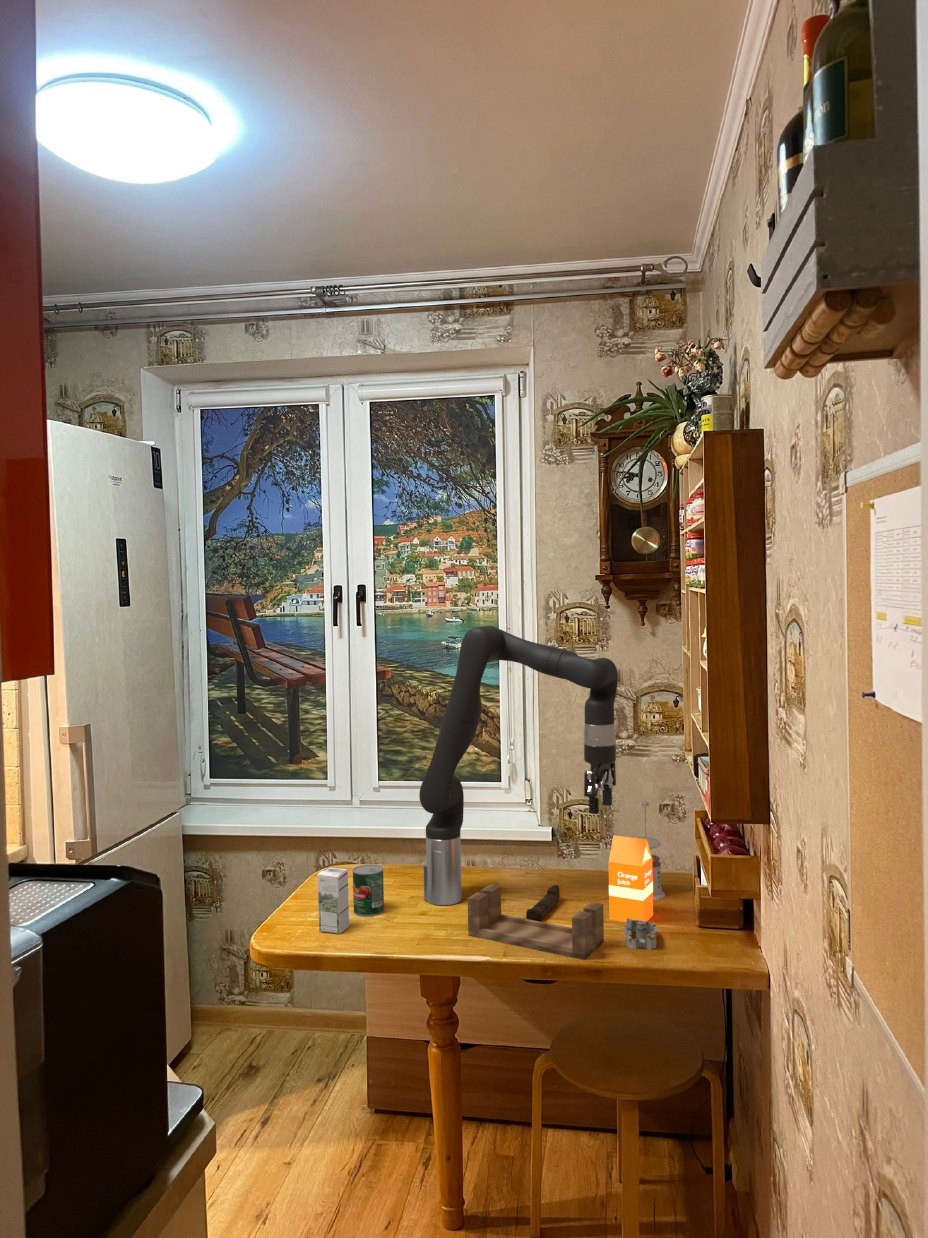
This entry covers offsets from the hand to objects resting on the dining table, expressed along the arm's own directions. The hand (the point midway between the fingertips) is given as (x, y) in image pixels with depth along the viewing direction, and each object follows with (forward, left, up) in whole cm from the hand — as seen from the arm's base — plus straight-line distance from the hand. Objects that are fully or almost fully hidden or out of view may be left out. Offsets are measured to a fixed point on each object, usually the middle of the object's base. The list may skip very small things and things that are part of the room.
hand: (600, 809), depth 215 cm
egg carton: (+10, -2, -30) cm, 31 cm away
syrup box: (-58, -30, -29) cm, 72 cm away
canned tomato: (-58, -16, -29) cm, 67 cm away
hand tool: (-18, +5, -30) cm, 35 cm away
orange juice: (+3, +11, -29) cm, 31 cm away
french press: (+1, +28, -29) cm, 40 cm away
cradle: (-12, -13, -29) cm, 34 cm away
